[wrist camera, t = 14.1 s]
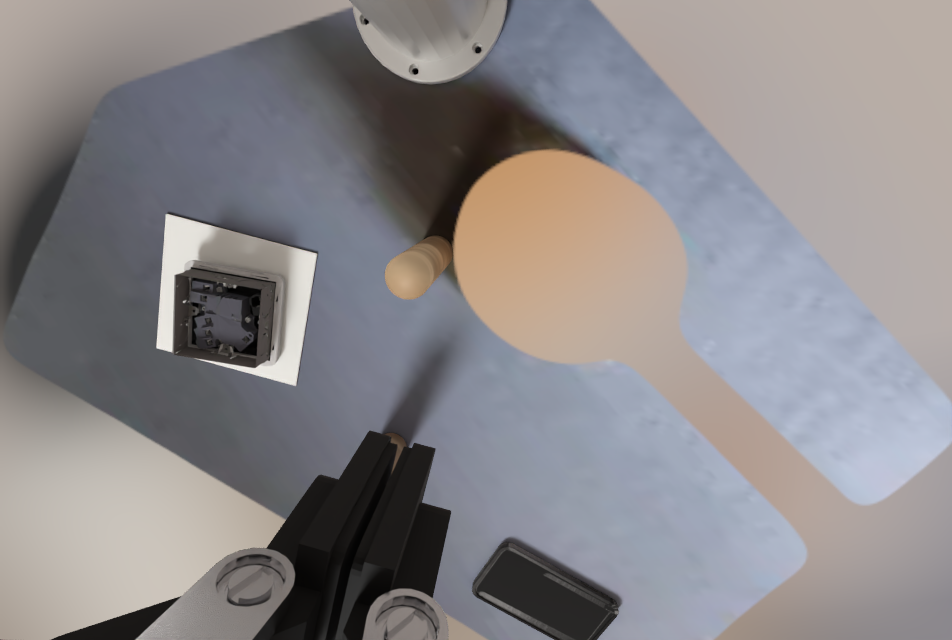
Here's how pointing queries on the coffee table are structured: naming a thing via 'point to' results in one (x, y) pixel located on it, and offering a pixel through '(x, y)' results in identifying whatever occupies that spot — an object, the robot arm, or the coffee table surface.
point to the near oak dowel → (418, 267)
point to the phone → (543, 595)
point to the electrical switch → (228, 314)
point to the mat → (248, 253)
